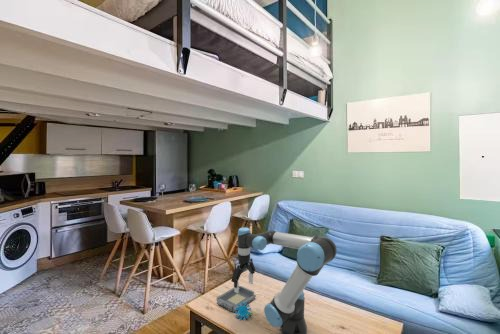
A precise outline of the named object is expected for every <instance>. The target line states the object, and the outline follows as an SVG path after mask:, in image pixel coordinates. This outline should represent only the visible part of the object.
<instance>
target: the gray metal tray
mask: <svg viewBox="0 0 500 334" xmlns="http://www.w3.org/2000/svg"><path fill="white" fill-rule="evenodd" d="M256 297H257V295H256V294H255V291H253V290H252V289H249V288H247V287H244V286H242V285H239V293H236V292H234V287H233V288H231V289H229V290H227V291H226V292H223V293H222V294H220V295H219V296H216V303H217V305H219V306H221V307H222V308H224V309H226V310H227V311H229V312H230V313H231V312H232V313H234V314H235V311H237V312H239V311H238V310H236V307H237V308H238V309H239V306H238V304H240V307H241V302H243V305H244V304H245V302H246V303H247V305H248V304H249V303H251V302H252V301H254V300H255V299H256ZM253 299H254V300H253ZM243 305H242V306H243Z"/></svg>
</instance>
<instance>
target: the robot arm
mask: <svg viewBox="0 0 500 334" xmlns="http://www.w3.org/2000/svg"><path fill="white" fill-rule="evenodd" d="M269 245H275V246H281V247H287V248H291V249H296V250H297V253H296V257H297V258H296V266H295V268H294V270H293V271H292V273H291V275H290V276H289V278H288V279H287V281H286V282H285V284H284V285H283V287H282V289H281V291H280V292H277V293H276V294H275V295H274V297H273V298H272V300H271V301H270V302H269V303H266V305H265V306H264V307H263V308H264V309H263V312H264V316H265V319H266V320H267V322H268V323H269V324H270V325H271V326H272V327H274V328H279V327H280V331H281V333H282V334H307V332H308V327H307V323H306V318H305V299H306V298H305V292H304V290H305V288H306V287H307V285H308V283H309V282H310V281H311V279H312V278H313V277H316V276H317V275H319V274H320V272H321V271H322V269H323V268H324V266H325V265H326V264H329V263H330V262H332V261H333V260H334V259H335V258H336V256H337V254H338V253H337V252H338V250H337V246H336V243H335V242H334V241H333V240H332V239H331V238H329V237H326V236H318V235H313V236H305V235H301V234H295V233H294V234H292V233H287V232H279V231H278V230H277V229H270V230H268V231H264V232H262V233H261V232H260V233H258V234H255V233H252V232H251V229H250V228H249V227H240V228H239V229H238V231H237V261H238V264H237V263H235V265H234V270H233V274H232V277H231V282H232V283H233V288H234V292H236V293H239V287H240V285H239V283H240V282H239V280H240V277H241V275H242V272H243V271H244V270H246V269H247V271H248V284H250V285H254V274H255V272H256V268H255V265H254V262H253V258H251V248H252V249H255V250H257V251H258V250H259V251H264V250H265V248H266V247H267V246H269Z"/></svg>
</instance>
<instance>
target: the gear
mask: <svg viewBox="0 0 500 334" xmlns="http://www.w3.org/2000/svg"><path fill="white" fill-rule="evenodd" d="M242 305H243V302H241V307H240V304H238V306H239V309H238V308H237V307H236V310H238V311H235V313H234V314H236V318H237V319H238V318H239V319H238V320H239V321H246V319H249V318H250V317H252V315H253V311H252V309H251V306H250V304H249V303H248V304H247V303H246V302H245V304H244V305H243V306H242ZM249 311H250V312H249ZM251 311H252V312H251Z"/></svg>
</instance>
